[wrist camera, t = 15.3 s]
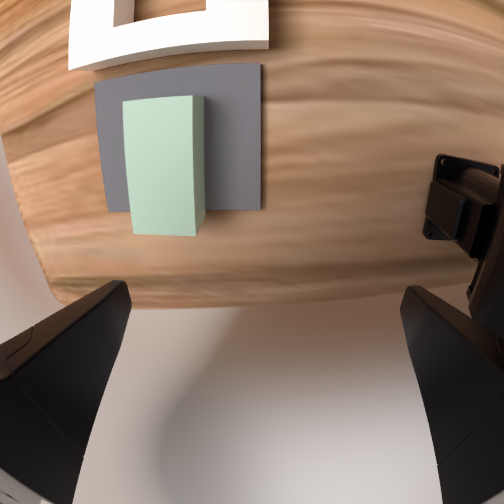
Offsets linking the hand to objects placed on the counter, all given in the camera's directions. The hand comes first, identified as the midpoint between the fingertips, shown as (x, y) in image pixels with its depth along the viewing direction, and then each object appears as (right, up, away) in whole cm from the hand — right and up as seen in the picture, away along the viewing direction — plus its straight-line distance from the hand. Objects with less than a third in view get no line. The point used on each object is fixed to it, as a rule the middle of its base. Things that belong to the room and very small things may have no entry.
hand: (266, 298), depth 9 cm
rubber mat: (-5, +9, +9) cm, 14 cm away
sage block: (-5, +7, +9) cm, 13 cm away
